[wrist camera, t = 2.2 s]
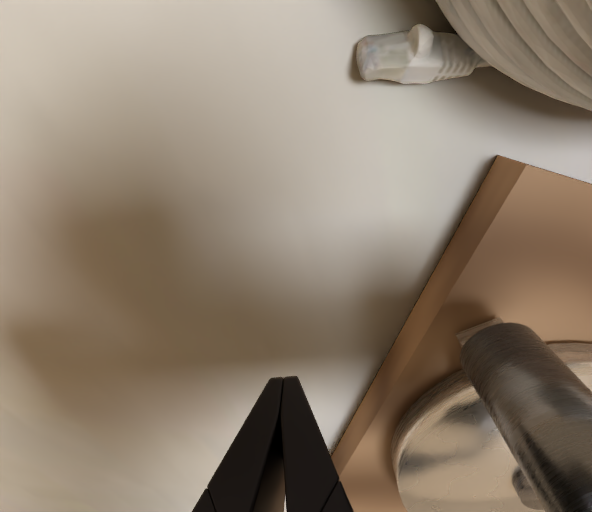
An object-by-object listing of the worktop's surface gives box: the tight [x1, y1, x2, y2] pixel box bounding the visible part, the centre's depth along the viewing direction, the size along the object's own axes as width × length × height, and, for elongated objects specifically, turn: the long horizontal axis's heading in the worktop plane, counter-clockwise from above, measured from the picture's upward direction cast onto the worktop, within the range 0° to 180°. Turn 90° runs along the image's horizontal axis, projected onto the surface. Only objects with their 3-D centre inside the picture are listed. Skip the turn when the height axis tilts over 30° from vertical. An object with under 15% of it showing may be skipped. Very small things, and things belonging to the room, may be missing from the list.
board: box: [331, 155, 592, 512], centre depth 16 cm, size 22×14×2 cm, turn 165°
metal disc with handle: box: [390, 317, 592, 512], centre depth 11 cm, size 15×12×6 cm
